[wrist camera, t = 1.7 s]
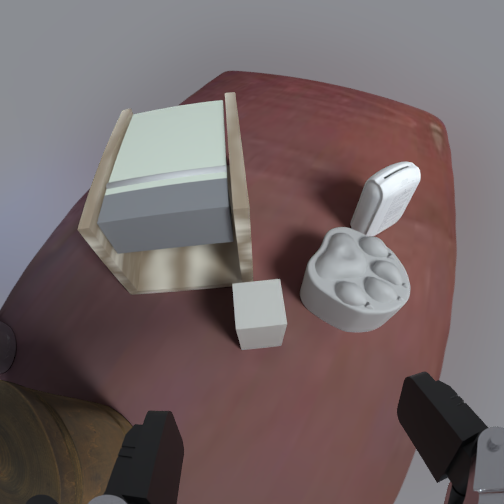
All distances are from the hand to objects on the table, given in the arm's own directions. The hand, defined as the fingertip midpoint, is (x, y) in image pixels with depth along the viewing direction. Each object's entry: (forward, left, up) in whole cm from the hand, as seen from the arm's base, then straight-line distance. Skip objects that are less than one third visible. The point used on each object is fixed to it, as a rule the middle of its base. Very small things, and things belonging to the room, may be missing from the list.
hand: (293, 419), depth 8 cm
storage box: (-9, +30, -27) cm, 41 cm away
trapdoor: (-9, +30, -17) cm, 36 cm away
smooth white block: (0, +11, -27) cm, 29 cm away
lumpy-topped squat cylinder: (+13, +15, -27) cm, 33 cm away
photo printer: (+21, +26, -27) cm, 43 cm away
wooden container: (-23, -6, -27) cm, 36 cm away
